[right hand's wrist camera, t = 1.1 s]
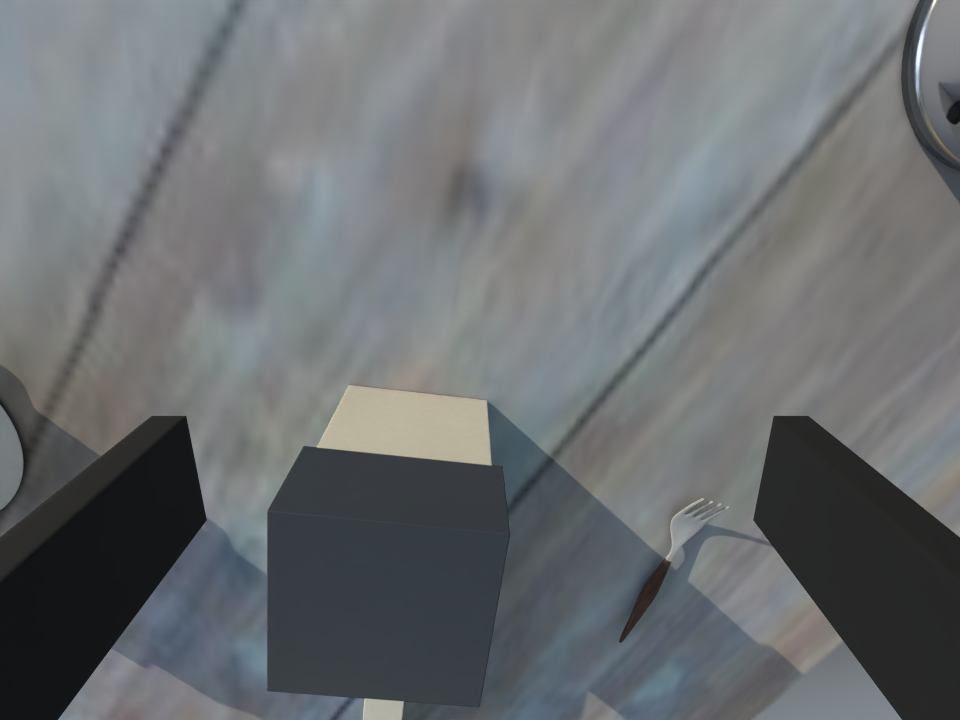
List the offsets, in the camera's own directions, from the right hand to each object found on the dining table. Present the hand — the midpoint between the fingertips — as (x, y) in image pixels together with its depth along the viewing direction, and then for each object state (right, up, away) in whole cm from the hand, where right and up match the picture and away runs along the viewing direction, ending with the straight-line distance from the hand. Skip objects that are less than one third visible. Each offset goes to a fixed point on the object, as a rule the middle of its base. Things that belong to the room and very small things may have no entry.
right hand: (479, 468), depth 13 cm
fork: (+15, -14, +34) cm, 39 cm away
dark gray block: (-5, -8, +20) cm, 22 cm away
